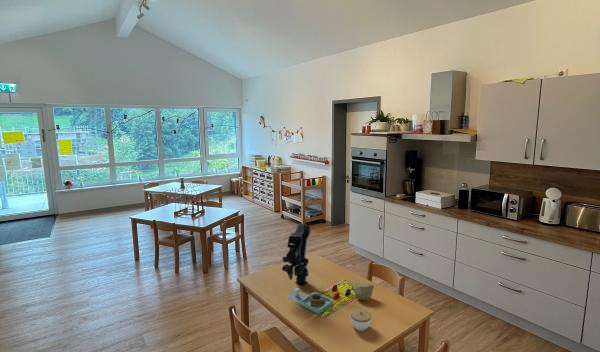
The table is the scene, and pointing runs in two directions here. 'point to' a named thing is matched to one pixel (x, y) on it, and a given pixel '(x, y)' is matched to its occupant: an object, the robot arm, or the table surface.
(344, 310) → the table surface
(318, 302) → the walnut square frame
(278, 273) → the table surface
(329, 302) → the tray
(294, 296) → the grey square knobbed piece
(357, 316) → the lidded jar
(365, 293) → the grey bowl
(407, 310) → the table surface
